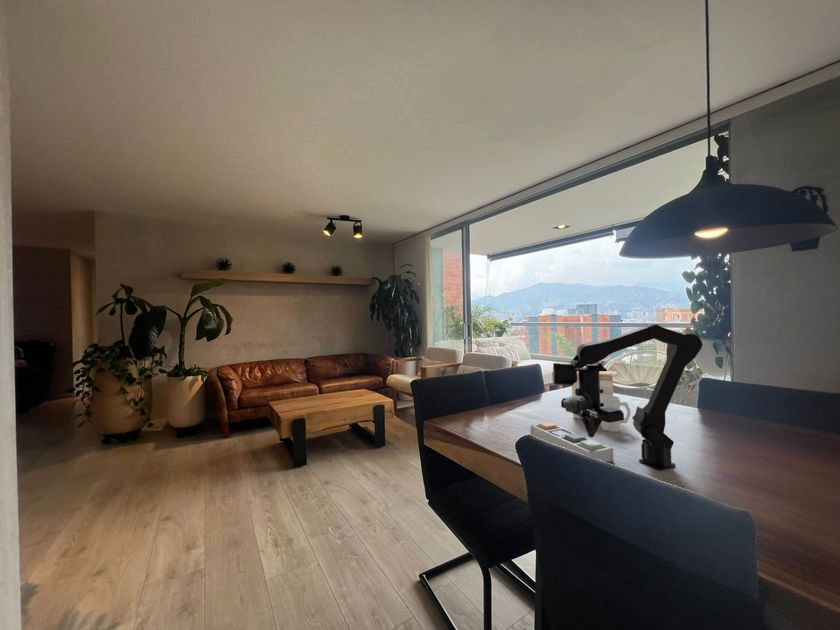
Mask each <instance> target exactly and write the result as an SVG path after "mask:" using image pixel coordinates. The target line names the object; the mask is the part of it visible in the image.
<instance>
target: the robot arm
mask: <svg viewBox="0 0 840 630" xmlns="http://www.w3.org/2000/svg"><path fill="white" fill-rule="evenodd" d="M651 340H656V341H659V342H661V343H664V344H667V345H666V350H665V351H666V361H665V363H664V365H663V367H662V370H661V372H660V375H659V377H658V379H657V381H656V384H655V385H654V388H653V391H652V393H651V395H650V398H649V400H648V402H647V404H645V406H644V407H642V408H641V407H640V406H637V407H636V409H635V413H634V415H633V416H632V420H633V422H632V425H633V427H634V429H635V430H636V431H637V432H638V433H639V434H640V435H641V437H642V438H643V439H642V442H641V444H640V446H641V458H639V459H638V461H639V463H642V464H645V465H647V466H650V467H652V468H654V469H657V470H658V471H662V470H665V469H670V468H673V467H676V464H675V463H673V462H672V448H673V446H674V444H675V443H674V442H675V441H674V440H672V438H670V437H669V436H668V435H667V434H666V433H665V428H666V412H667V409H668V407H669V405H670V402H671V400H672V398H673V396H674V393H675V391H676V389H677V386H678V384H679V382H680V380H681V378H682V375H683V372H684V371H685V368H686V367H687V366H688V365H689V364H690V363H691V362H692V361H693V360H694V359H696V357H697V356H698V355H699V352H700V351H701V350H702V348H703V341H702V339H701V338H700V337H699V336H698V335H696V334H694V333H690V332H689V333H687V332H680V331H679V332H678V331H675V330H672V329H669V328H666V327H662V326H661V325H658V324H654V323H653V324H652V323H650V324H649V323H648V324H646V325H645V326H643V327H640V328H639V327H638V328H637V329H634V330H631V331H629V332H626V333H625V332H624V333H623V334H620V335H617V336H614V337H611V338H609V339H606V340H598V341H593V342H587V343H586V342H585V343H582V344H579V346H578V347H577V350H576V355H575V356H574V357H573V359H571V361H570V362H568V363H561V362H553V363H552V365H553V366H552V372H551V373H552V384H553V386H572V385H573V384H574V383H576V382H577V371H578V372H579V388H576V390H575V395H572V394H571V396H568V397H564V398H562V400H561V401H560V404H561V405H560V407H561V408H563V409H565V411H566V412H567V413H572V415H573V414H577V415H578V416H579V417H580V418H581V421H582V423H583V426H584V428H585V430H586V433H587V436H588V437H589V438H594V437H595V434H596V433H597V432H598V431H597V430H598V429H599V427H600V426H601V422H602V421H604V422H608V423H611V422H617V421H622V420H624V419H625V414H624V412H623V411H622V409H620V410H619V409H615V408H612V407H609V408H603V409H602V408H600V407H603V406H604V403H602V402H600V393H603V389H600V375H599V371H608V369H607V368H605V367H604V366H603V364H602V363H601V361H603V360H605V359H606V358H607V357H609V356H610V355H612V354H613V353H615V352H619V351H622V350H625V349H628V348H630V347H633V346H637V345H640V344H641V343H642V344H643V343H645V342H648V341H651ZM593 409H594V410H593Z"/></svg>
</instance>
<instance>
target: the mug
mask: <svg viewBox="0 0 840 630" xmlns="http://www.w3.org/2000/svg"><path fill="white" fill-rule="evenodd" d="M620 399H621V398H620V397H619V396H616V395H613V396H610V395H602V396H600V402H602V403H604V406H603V407H600V408H602V409H603V408H609V407H612V408H615V409H619V410H621V408H620V407H622V406H623V407H625V409H626V411H627V412H626V416H625V417H624V420H622V421H617V422H611V423H608V422H604V421H602V422H601V424H600V429H602V430H603V431H605V432H611V433H612V432H613V433H615V432H616V433H618V432H620V430H621V424H627V423H628V422H629V419H630V417H631V408H630V406H629V405H628V402H627V401H620Z"/></svg>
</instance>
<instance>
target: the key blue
mask: <svg viewBox="0 0 840 630" xmlns="http://www.w3.org/2000/svg"><path fill="white" fill-rule="evenodd" d="M551 434H554V435H556V436H558V437H560V436H565V435H566V434H569V433H566V432H564V431H562V430H559V431H554V432H551Z"/></svg>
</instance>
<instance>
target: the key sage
mask: <svg viewBox="0 0 840 630" xmlns="http://www.w3.org/2000/svg"><path fill="white" fill-rule="evenodd" d="M589 439H590V440H585V441H580V447H582V448H584V449H587V450H589V451H594V450H599V449H602V444H603V443H600V442H598V441H596V440H593V439H592V438H589Z"/></svg>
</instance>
